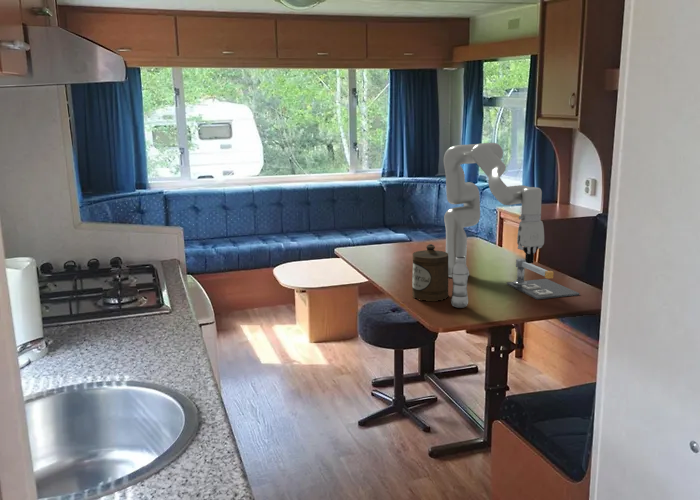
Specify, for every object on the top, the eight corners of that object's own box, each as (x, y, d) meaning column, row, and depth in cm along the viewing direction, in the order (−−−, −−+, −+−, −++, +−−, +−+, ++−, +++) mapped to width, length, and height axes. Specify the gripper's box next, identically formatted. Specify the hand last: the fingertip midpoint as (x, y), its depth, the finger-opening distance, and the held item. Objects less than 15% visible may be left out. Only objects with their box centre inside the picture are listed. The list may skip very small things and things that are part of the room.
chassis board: (536, 299, 259) (537, 297, 259) (506, 284, 281) (506, 282, 281) (579, 295, 264) (579, 293, 264) (546, 280, 287) (546, 278, 287)
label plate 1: (528, 289, 270) (528, 287, 270) (521, 286, 275) (521, 284, 275) (540, 288, 272) (540, 286, 272) (534, 285, 277) (534, 283, 276)
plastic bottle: (464, 310, 246) (465, 260, 242) (448, 307, 250) (449, 258, 245) (470, 306, 251) (472, 256, 247) (454, 303, 255) (455, 254, 250)
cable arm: (513, 265, 280) (514, 259, 279) (522, 265, 281) (523, 258, 280) (545, 279, 257) (545, 272, 256) (555, 278, 258) (555, 271, 257)
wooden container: (406, 293, 269) (406, 242, 264) (437, 289, 274) (438, 239, 269) (422, 303, 256) (423, 249, 251) (454, 299, 261) (456, 246, 256)
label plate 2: (540, 295, 262) (540, 293, 262) (533, 292, 267) (533, 290, 266) (552, 293, 264) (552, 292, 263) (545, 290, 268) (545, 289, 268)
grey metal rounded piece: (517, 285, 276) (518, 270, 275) (510, 282, 282) (511, 266, 280) (530, 284, 278) (530, 268, 276) (522, 281, 283) (523, 265, 282)
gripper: (519, 220, 251) (518, 266, 255) (552, 218, 256) (550, 263, 259) (509, 218, 258) (508, 262, 262) (542, 215, 263) (540, 259, 266)
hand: (529, 262), depth 261 cm, fingers closed
